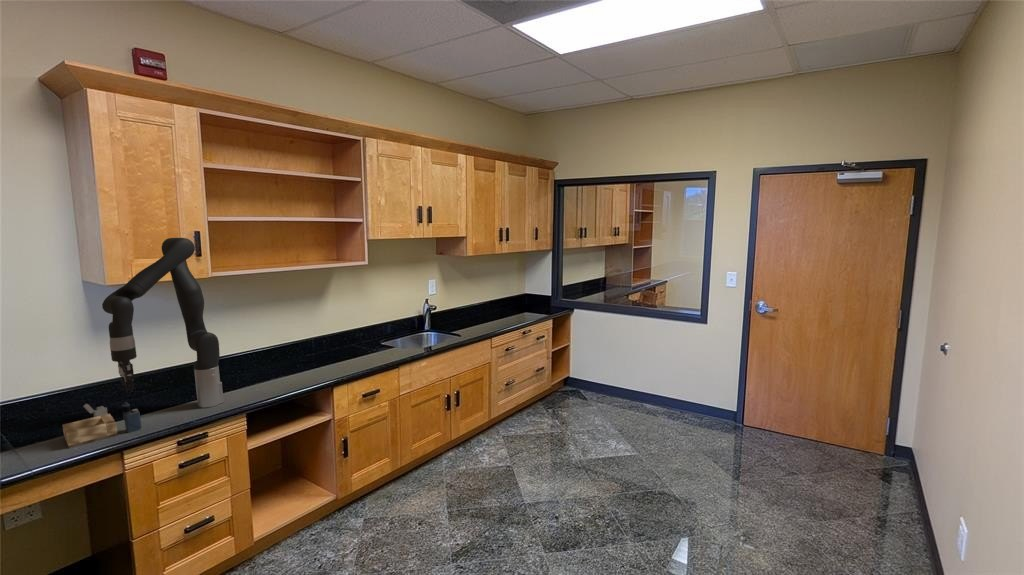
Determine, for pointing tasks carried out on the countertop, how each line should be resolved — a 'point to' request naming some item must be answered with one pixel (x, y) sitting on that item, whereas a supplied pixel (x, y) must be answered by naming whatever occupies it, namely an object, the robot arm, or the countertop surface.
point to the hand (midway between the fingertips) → (128, 387)
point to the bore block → (89, 430)
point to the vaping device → (131, 418)
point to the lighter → (97, 412)
